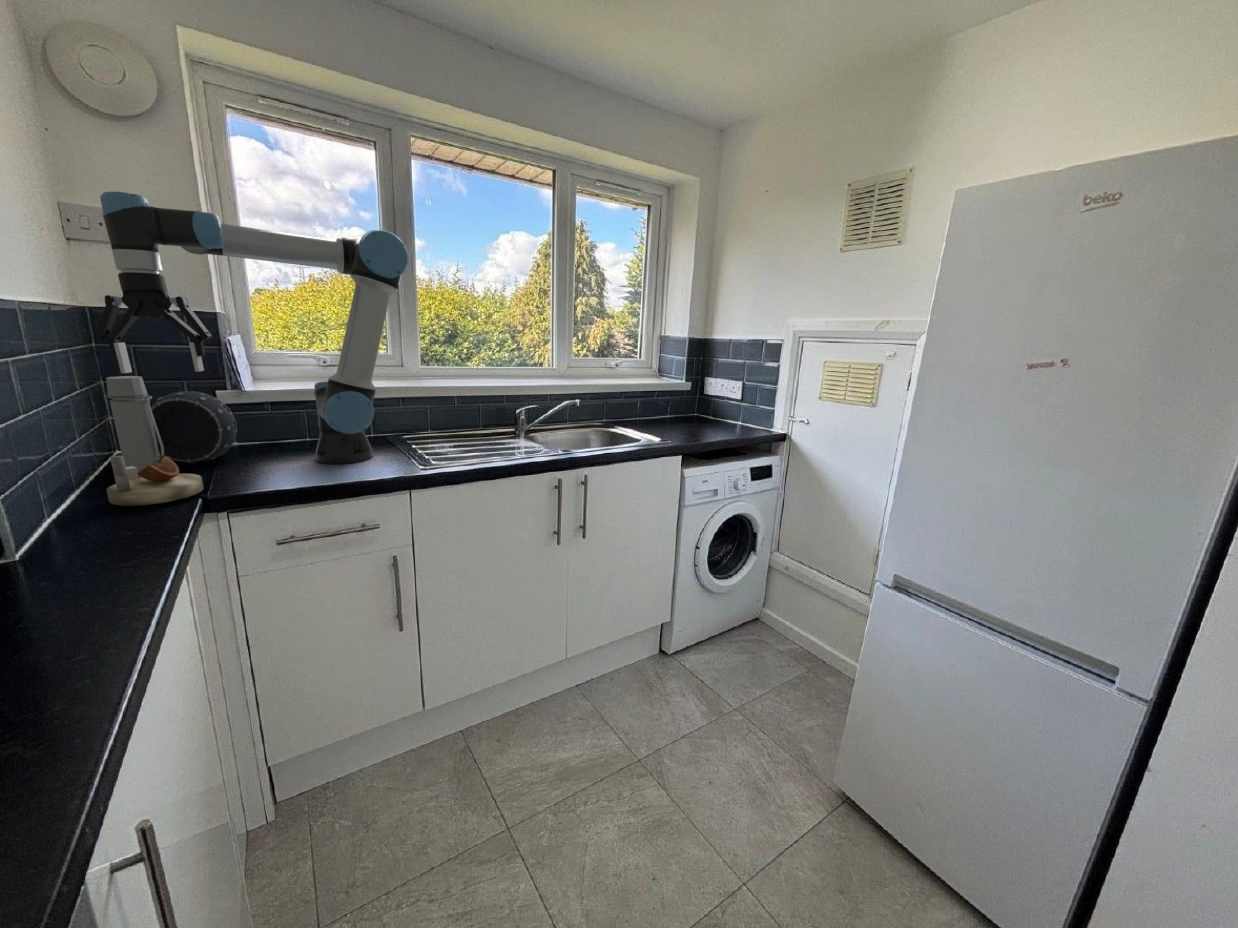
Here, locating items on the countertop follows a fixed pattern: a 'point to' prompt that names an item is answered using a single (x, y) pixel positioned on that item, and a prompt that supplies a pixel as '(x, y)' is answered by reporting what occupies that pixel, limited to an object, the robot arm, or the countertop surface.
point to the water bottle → (134, 421)
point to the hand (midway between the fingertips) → (163, 372)
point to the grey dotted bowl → (193, 426)
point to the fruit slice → (160, 470)
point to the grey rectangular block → (132, 472)
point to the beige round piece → (149, 487)
